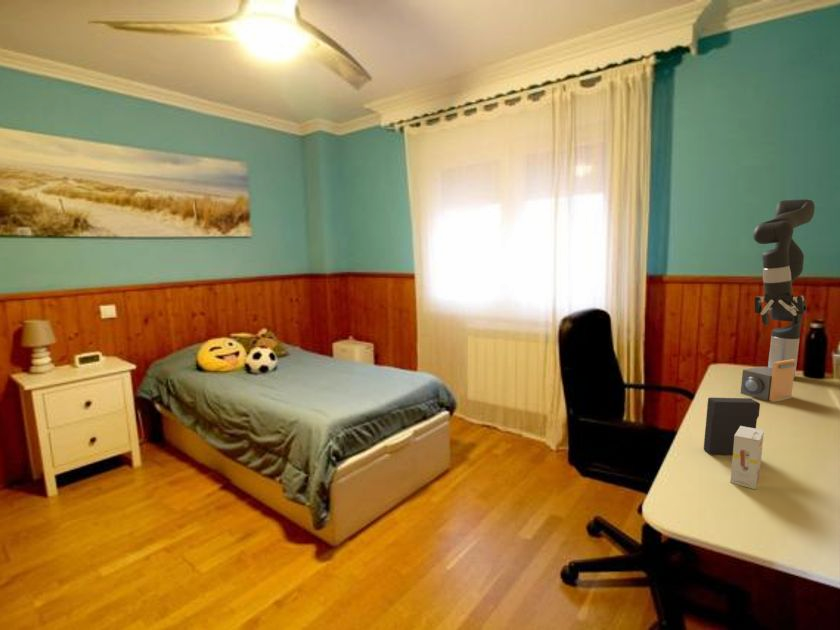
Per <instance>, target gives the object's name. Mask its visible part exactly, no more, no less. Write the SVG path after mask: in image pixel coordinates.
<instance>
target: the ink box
mask: <svg viewBox="0 0 840 630" xmlns="http://www.w3.org/2000/svg"><path fill="white" fill-rule="evenodd" d="M764 434H765V430H764V429H760V428H756V429H755V428H750V427H744V426H740V427H739V429H738V430H737V432H736V434H735V435H734V447H733V455H732V461H731V471H730V481H729V482H730V483H731V484H735V485H738V486H743V487H746V488H749V489H752V490H756V488H757V486H758V483H759V482H758V480H759V477H760V473H761V472H760V471H761V465H762V464H761V463H762V454H763V443H764Z"/></svg>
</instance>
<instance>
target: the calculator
mask: <svg viewBox="0 0 840 630" xmlns="http://www.w3.org/2000/svg"><path fill="white" fill-rule="evenodd" d="M706 405H707V406H706V407H707V408H706V419H705V429H704V430H705V431H704V441H703V450H704V451H705V452H706V453H708V454H709V455H710V456H713V455H714V456H733V447H734V435H735V434H736V432H737V430H738V429H739V427H740V426H744V427H750V428H755V429H757V421H758V418H759V416H760V410H761V409H760V408H761V403H760V402H758V401H756V400H754V399H752V398H749V397H743V398H741V397H708V399H707V404H706Z"/></svg>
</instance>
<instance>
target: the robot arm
mask: <svg viewBox="0 0 840 630" xmlns="http://www.w3.org/2000/svg"><path fill="white" fill-rule="evenodd" d="M815 210H816V209H815V203H814V201H813V200H811V199H807V198H806V199H805V198H804V199H788V200H787V199H785V200H780V201H779V202H778V203H777V205H776V208H775V214H774V215H775V216H774V218H772V219H770V220H767V221H764V222H762V223H761V222H760V223H759V224H758V225H757V226H756V227H755V228H754V230H753V235H752V237H753V239H754V241H755V242H756V243H758V244H760V245H767V244H775V245H774V247H775V248H772V249H769V250H766V251H764V252H763V253H762V256H761V257H762V259H761V260H762V268H763V270H762V281H763V290H764V292H763V293H764V296H761V295H758V296H755V297H754V313H755V314H759V315H761V322H762V324H763V325H764V326H768V325H770V319H771V320H772V321H778V322H779V321H780V322H781V321H782V322H791V323H790V324H788V325H786V326H783V327H778V328H777V327H776V328H773V329H772V330H771V335H770V336H771V337H770V345H769V346H770V347H769V355H768V362H767V363H768V365H767V367H769V368H773V362H778V361H784V360H790V359H794V360H796V362H795V370H794V378H793V380H794V379H795V378H796V372H797V363H798V355H799V345H800V338H801V337H800V336H801V329H802V322H803V317H804V314H805V313H807V312H808V311H807V304H806V297H805V295H798V296H795V295H794V294H793V282H795V281H796V280H797V279H798V277H800V276H801V274H802V273H803V270H804V260H805V255H804V253H803V251H802V249H801V248H800V246H799V245H798V244H797V243H796V241H795V240H794V239H793V234H794V229H795V228H798V227H800V226H803V225H805V224H808V223H810V222H811V221H812V219H813V217H814V214H815ZM764 302H765V303H766V305H765V306H764V308H763V303H764Z"/></svg>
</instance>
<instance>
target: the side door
mask: <svg viewBox="0 0 840 630" xmlns="http://www.w3.org/2000/svg"><path fill="white" fill-rule="evenodd" d="M795 362H796V360H794V359H790V360H784V361H778V362H773V371H772V380H771V389H770V398H769V402H772V403H775V402H780V401H785V400H788V399H793V394H792V393H793V385H794V379H795V378H794V370H795ZM793 378H794V379H793Z"/></svg>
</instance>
